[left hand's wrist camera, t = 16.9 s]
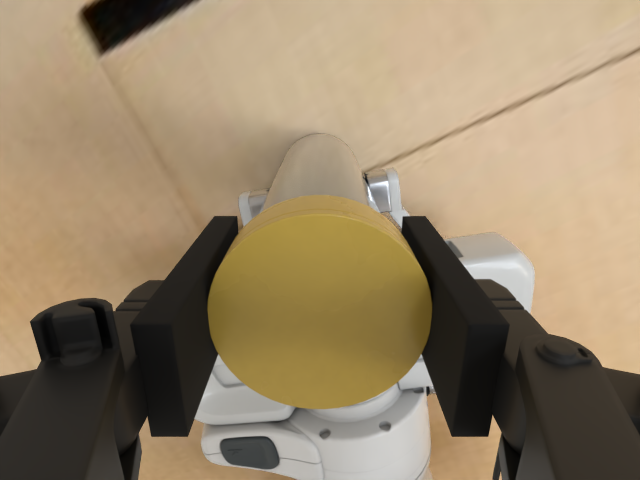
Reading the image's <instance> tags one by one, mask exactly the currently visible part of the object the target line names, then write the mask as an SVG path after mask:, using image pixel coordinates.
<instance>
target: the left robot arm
mask: <svg viewBox="0 0 640 480" xmlns="http://www.w3.org/2000/svg"><path fill="white" fill-rule="evenodd" d="M401 234H402V235H403V237H404V238H405V239H406V241H407V243H408V244H409V246H410V248H411V250H412V252H413V254H414V255H415V257H416V259H417V261H418V263H419V265H420V266H421V268H422V270H423V272H424V274H425V276H426V279H427V282H428V285H429V288H430V291H431V297H432V303H433V305H432V318H431V326H430V334H429V337H428V341H427V343H426V345H425V348H424V350H423V352H422V354H421V355H422V357H423V360H424V363H425V365H426V368H427V371H428V373H429V376H430V379H431V381H432V384H433V387H434V390H435V392H436V395H437V398H438V400H439V403H440V406H441V408H442V411H443V414H444V416H445V419H446V422H447V425H448V427H449V430H450V433H451V435H452V437H488V435H489V430H490V425H491V420H492V414H493V416H494V418H495V420H496V422H497V424H498V426H499V428H500V430H501V432H502V433H501V438H500V443H499V448H498V452H497V457H496V462H495V467H494V472H493V480H499V476H500V472H501V474H502V480H640V374H634V373H629V372H624V371H619V370H614V369H608V368H604V367H602V365H601V363H600V362H599V360H598V359H597V358H596V356H595V355H594V354H593V353H592V352H591V351H590V350H588V349H587V348H585V347H584V346H582V345H581V344H579V343H576V342H574V341H572V340H569V339H567V338H564V337H560V336H555V335H551V334H548V333H547V332H546V331H545V330H544V329H543V328H542V327H541V326H540V324H539V323H538V322H537V321H536V320H535V319H534V318H533V317H532V316H531V314H530V313H529V312H528V311H527V310H524V307H523V306H522V304H521V303H520V302H519V301H516V298H515V297H514V296H513V295H512V293H511V292H510V291H509V290H508V289H507V288H506V287H504V286H502V285H500V284H499V283H497V282H495V281H493V280H492V279H474V278H473V277H472V275H471V274H470V273H469V272H468V270H467V269H466V268H465V266H464V265H463V264H462V263H461V261H460V260H459V259H458V258H457V256H456V255H455V254H454V252H453V251H452V250H451V249H450V247H449V246H448V245H447V243H446V242H445V241H444V240H443V238H442V237H441V236H440V234H439V233H438V232H437V231H436V229H435V228H434V227H433V226H432V224H431V223H430V222H429V220H428V219H427V218H426V217H425V216H403V218H402V231H401ZM237 235H238V221H237V216H214V217H213V219H212V220H211V221H210V223H209V224H208V225H207V226H206V228H205V229H204V230H203V232H202V233H201V234H200V235H199V237H198V238H197V239H196V241H195V242H194V243H193V244H192V246H191V247H190V248H189V249H188V251H187V252H186V253H185V255H184V256H183V257H182V258H181V260H180V261H179V262H178V264H177V265H176V266H175V267H174V269H173V270H172V271H171V273H170V274H169V275H168V276H167V278H166V279H165V280H149V281H147V282H146V283H144V284H142V285H140V286H139V287H137V288H135V289H133V290H132V292H131V293H130V294H129V295H128V296H127V297H126V298H125V299H124V302H122V303H121V304H120V305H119V306H118V307H117V308H116V311H114V312H113V308H112V304H110V303H109V302H108V301H106V300H102V299H97V298H84V299H77V300H72V301H67V302H63V303H61V304H58V305H55V306H52V307H50V308H48V309H46V310H44V311H42V312H41V313H39V314H37V315H36V316H35V317H34V318H33V319H32V320H31V321H30V323H31V327H32V330H33V334H34V337H35V340H36V344H37V347H38V351H39V354H40V357H41V362H40V364H39V366H38V368H37V369H35V370H31V371H26V372H21V373H16V374H11V375H5V376H0V480H138V475H139V468H140V461H141V454H142V450H141V443H140V438H139V431H140V429H141V427H142V426H143V424H144V422H145V420H146V418H147V416H148V421H149V426H150V431H151V436H152V437H188V435H189V432H190V429H191V426H192V424H193V421H194V418H195V416H196V413H197V410H198V408H199V405H200V402H201V400H202V397H203V394H204V391H205V389H206V386H207V383H208V381H209V378H210V375H211V373H212V370H213V367H214V365H215V362H216V359H217V357H218V352H217V351H216V348H215V346H214V343H213V341H212V338H211V335H210V329H209V320H208V311H207V303H208V296H209V291H210V287H211V284H212V281H213V279H214V276H215V274H216V272H217V270H218V268H219V266H220V264H221V262H222V261H223V259H224V257H225V255H226V253H227V251H228V250H229V248H230V246H231V244H232V242H233V241H234V239H235V237H236V236H237Z"/></svg>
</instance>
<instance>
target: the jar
mask: <svg viewBox="0 0 640 480" xmlns="http://www.w3.org/2000/svg"><path fill="white" fill-rule="evenodd" d="M309 195H331V196H338V197H344V198H348V199H351V200H355V201H358V202H360V203H362V204H364V205H367V206H369V207H371V208H372V209H374V210H376V211H377V212H379V213H381V212H380V210H379V208H378V206H377V203H376V201H375V199H374V197H373V195H372V193H371V190H370V188H369V186H368V184H367V182H366V180H365V178H364V175H363V173H362V171H361V169H360V167H359V165H358V163H357V160H356V158H355V156H354V154H353V152H352V151H351V149H350V148H349V147H348V146H347V145H346V144H345V143H344V142H343V141H342V140H340V139H338V138H336V137H334V136H331V135H328V134H312V135H308V136H305V137H303V138H301V139H299V140H298V141H297V142H295V143H294V144H293V145H292V146H291V147H290V149H289V150H288V152H287V153H286V155H285V157H284V160H283V162H282V164H281V166H280V168H279V170H278V173H277V175H276V177H275V179H274V181H273V183H272V185H271V188H270V190H269V192H268V194H267V196H266V198H265V200H264V203H263V205H262V207H261V209H260V211H259V213H261V212H262V211H264V210H266V209H267V208H269V207H271V206H273V205H275V204H277V203H280V202H283V201H285V200H288V199H292V198H296V197H301V196H309ZM259 213H258V214H259Z"/></svg>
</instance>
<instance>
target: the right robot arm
mask: <svg viewBox="0 0 640 480" xmlns="http://www.w3.org/2000/svg"><path fill="white" fill-rule="evenodd" d="M365 180H366V182H367V184H368V186H369V188H370V190H371V193H372V195H373V197H374V199H375V201H376V203H377V206H378V208H379V210H380V212H381V213H382V212H389V214H390V215H391V216H392V217H393V219H394V220H395V221H396V222H397V224H398V225H399V226H400V228H401V229H398V230H399V231H400V232H401V231H402V218H403V216H410V215H409V213H408V212H407V211H406V209H405V208H404V207H403V205H402V204H401V196H400V186H399V178H398V174H397V172H396V170H395V169H394V168H388V169H382V170H376V171H371V172H365ZM269 190H270V188H267V189H261V190H254V191H247V192H242V193H241V195H240V196H239V200H238V202H239V210H240V214H241V218H242V222H243V226H245V225H246V224H247V223H248V222H249V221H250V220H251V219H253V218H254V217H255V216H257V215H258V213H259V211H260V209H261V207H262V205H263V203H264V200H265V198H266V196H267V194H268V192H269ZM443 240H444V241H445V242H446V243H447V245H448V246H449V247H450V249H451V250H452V251H453V252H454V254H455V255H456V256H457V258H458V259H459V260H460V261H461V263H462V264H463V265H464V266H465V268H466V269H467V270H468V272H469V273H470V274H471V275H472V277H473V278H474V279H492V280H493V281H495V282H497V283H499V284H500V285H502V286H504V287H506V288H507V289H508V290H509V291H510V292H511V293H512V295H513V296H514V297H515V298H516V301H519V302H520V303H521V304H522V306H523V307H524V310H527V311H528V312H529V313H530V312H531V306H532V299H533V291H534V281H535V271H534V267H533V264H532V262H531V261H530V259H529V258H528V257H527V256H526V255H525V254H524V253H523V252H522V251H521V250H520V249H519V248H518V247H517V246H516V245H515V244H513V243H512V242H511V241H509V240H508V239H506V238H505V237H503V236H502V235H501V234H498V233H496V232H489V233H482V234H475V235H469V236H462V237H455V238H449V239H443ZM428 394H436V392H435V390H434V387H433V384H432V381H431V379H430V376H429V373H428V371H427V368H426V365H425V363H424V360H423V357H422V355H420V357H419V359H418V360H417V362H416V363H415V365H414V366H413V367H412V368H411V369H410V371H409V372H408V373H407V374H406V375H405V376H404V377H403V378H402V379H401V380H400V381H399V382H397V383H396V384H395V385H393V386H392V387H391V388H389V389H388V390H386V391H385V392H383V393H381V394H379V395H377V396H376V397H373V398H371V399H369V400H366V401H364V402H361V403H358V404H354V405H351V406H346V407H341V408H333V409H307V408H298V407H294V406H289V405H285V404H282V403H279V402H276V401H273V400H271V399H269V398H267V397H264V396H262V395H260V394H259V393H257V392H255V391H254V390H252V389H250V388H249V387H248V386H246V385H245V384H244V383H243V382H241V381H240V380H239V379H238V378H237V377H236V376H235V375H234V374H233V373H232V372H231V371H230V370H229V369H228V367H227V366H226V365H225V363H224V362H223V361H222V359H221V357H220V356H219V354H218V357H217V359H216V362H215V365H214V367H213V370H212V373H211V375H210V378H209V381H208V383H207V386H206V389H205V391H204V394H203V397H202V400H201V402H200V405H199V408H198V410H197V413H196V416H195V418H194V419H195V420H197V421H199V422H202V423H204V426H203V432H202V437H201V447H202V451H203V454H204V456H205V457H206V459H207V460H208V461H210V462H212V463H214V464H218V465H223V466H231V467H240V468H248V469H255V470H261V471H266V472H272V473H276V474H280V475H284V476H288V477H291V478H294V479H297V480H433V476H432V473H431V470H430V468H429V466H428V465H429V462H430V456H431V435H430V424H429V413H428V403H427V396H428Z"/></svg>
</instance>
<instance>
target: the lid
mask: <svg viewBox="0 0 640 480" xmlns="http://www.w3.org/2000/svg"><path fill="white" fill-rule="evenodd" d="M432 305H433V303H432V297H431V291H430V288H429V285H428V282H427V279H426V276H425V274H424V272H423V270H422V268H421V266H420V265H419V263H418V261H417V259H416V257H415V255H414V254H413V252H412V250H411V248H410V246H409V244H408V243H407V241H406V239H405V238H404V237H403V235H402V234H401V232H400V231H399V230H398V229H397V228H396V227H395V226H394V225H393V223H392V222H391V221H389V220H388V219H387V218H386V217H384V216H383V215H382V214H381V213H379V212H377V211H376V210H374V209H372V208H371V207H369V206H367V205H364V204H362V203H360V202H358V201H355V200H351V199H348V198H344V197H338V196H331V195H309V196H301V197H296V198H292V199H288V200H285V201H283V202H280V203H277V204H275V205H273V206H271V207H269V208H267V209H266V210H264V211H262V212H261V213H259V214H258V215H257V216H255V217H254V218H253V219H251V220H250V221H249V222H248V223H247V224H246V225H245V226H244V227H243V228H242V230H241V231H240V232H239V233H238V235H237V236H236V237H235V239H234V241H233V242H232V244H231V246H230V248H229V250H228V251H227V253H226V255H225V257H224V259H223V261H222V262H221V264H220V266H219V268H218V270H217V272H216V274H215V276H214V279H213V281H212V284H211V287H210V291H209V296H208V303H207V311H208V320H209V329H210V335H211V338H212V341H213V343H214V346H215V348H216V351H217V352H218V354H219V356H220V357H221V359H222V361H223V362H224V363H225V365H226V366H227V367H228V369H229V370H230V371H231V372H232V373H233V374H234V375H235V376H236V377H237V378H238V379H239V380H240V381H241V382H243V383H244V384H245V385H246V386H248V387H249V388H250V389H252V390H254V391H255V392H257V393H259V394H260V395H262V396H264V397H267V398H269V399H271V400H273V401H276V402H279V403H282V404H285V405H289V406H294V407H298V408H307V409H333V408H341V407H346V406H351V405H354V404H358V403H361V402H364V401H366V400H369V399H371V398H373V397H376V396H377V395H379V394H381V393H383V392H385V391H386V390H388V389H389V388H391V387H392V386H393V385H395V384H396V383H397V382H399V381H400V380H401V379H402V378H403V377H404V376H405V375H406V374H407V373H408V372H409V371H410V369H411V368H412V367H413V366H414V365H415V363H416V362H417V360H418V359H419V357H420V355H421V354H422V352H423V350H424V348H425V345H426V343H427V341H428V337H429V334H430V326H431V318H432Z"/></svg>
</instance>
